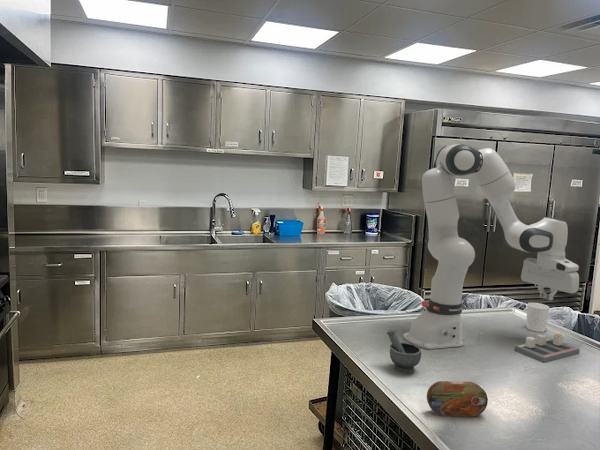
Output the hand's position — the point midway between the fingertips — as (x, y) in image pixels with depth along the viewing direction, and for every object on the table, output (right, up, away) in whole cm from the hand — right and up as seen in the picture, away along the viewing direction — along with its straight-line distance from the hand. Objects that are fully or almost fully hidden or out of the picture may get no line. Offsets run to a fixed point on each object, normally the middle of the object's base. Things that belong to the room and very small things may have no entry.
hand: (546, 298), depth 166 cm
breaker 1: (-9, -16, -7) cm, 20 cm away
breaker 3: (+2, -16, -3) cm, 16 cm away
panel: (-3, -18, -6) cm, 19 cm away
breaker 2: (-4, -16, -4) cm, 17 cm away
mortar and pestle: (-59, -18, -25) cm, 66 cm away
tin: (-51, -21, -50) cm, 74 cm away
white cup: (+5, -16, +18) cm, 24 cm away
